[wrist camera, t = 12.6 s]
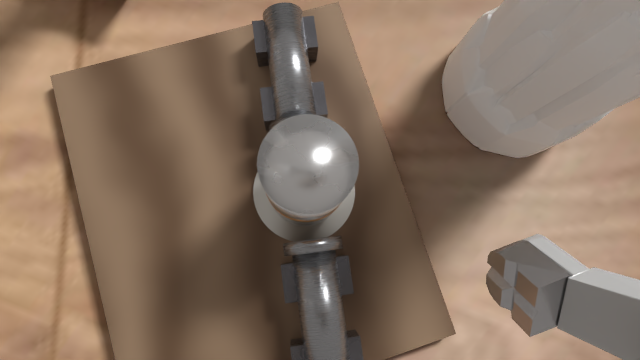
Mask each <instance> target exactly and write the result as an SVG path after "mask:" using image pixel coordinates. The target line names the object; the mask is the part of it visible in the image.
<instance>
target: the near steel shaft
mask: <svg viewBox="0 0 640 360" xmlns="http://www.w3.org/2000/svg"><path fill="white" fill-rule="evenodd" d="M342 248H343V245H342V238H341V236H333V237H324V238H317V239H309V240H302V241H295V242H289V243H284V244H283V250H284V256H292V259H293V262H292V263H285V264H281V273H282V282H283V290H284V299H285V304H286V303H293V302H298V308H299V316H300V324H301V333H302V338H297V339H291V340H290V350H291V359H292V360H364V359H363V352H362V346H361V339H360V335H359V334H358V333H357V331H356V330H348V331H347V330H346V323H345V315H344V308H343V301H342V295H347V294H354V290H353V283H352V276H351V269H350V263H349V256H348V255H342V256H336V251H335V249H342Z"/></svg>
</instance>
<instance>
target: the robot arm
mask: <svg viewBox="0 0 640 360" xmlns="http://www.w3.org/2000/svg"><path fill="white" fill-rule="evenodd" d="M487 263H488V264H489V265H490V266H492V267H491V268H490V270H489V271H488V273H487V275H486V284H487V287H488V290H489V293H490V294H491V296H492V297H493V299H494V300H495V301H496V302H497V303H498V304H499V306H501V307H503V308H506V309H508V310H511V315H512V319H513V320H514V321H515V322H516V323H517V324H518V325H519V326H520V327H521V328H522V329H523V330H524V331H525V333H526V334H527V335H528V336H529V337H531V336H534V335H536V334H539V333H541V332H544V331H546V330H549V329H551V328H554V327H556V326H558V327H557V328H558V329H560V330H562V331H565V332H567V333H569V334H571V335H573V336H575V337H577V338H579V339H581V340H583V341H585V342H588V343H590V344H592V345H594V346H596V347H598V348H600V349H602V350H604V351H606V352H608V353H611V354H613V355H615V356H617V357H619V358H621V359H623V360H640V280H638V279H634V278H631V277H627V276H623V275H620V274H616V273H613V272H609V271H605V270H602V269H598V268H595V267H593V268H590V269H589V268H587V267H586V266H584V265H583V264H582V263H580V262H579V261H578V260H576V259H575V258H573V257H572V256H571V255H569V254H568V253H567V252H565V251H564V250H562V249H561V248H560V247H558V246H557V245H556V244H554V243H553V242H552V241H550V240H549V239H547V238H546V237H545V236H543V235H540V234H536V235H534V236H531V237H528V238H526V239H523V240H521V241H517V242H514V243H512V244H509V245H507V246H504V247H501V248H499V249H496V250H494V251H491V252H490V254H489V255H488V262H487Z"/></svg>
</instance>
